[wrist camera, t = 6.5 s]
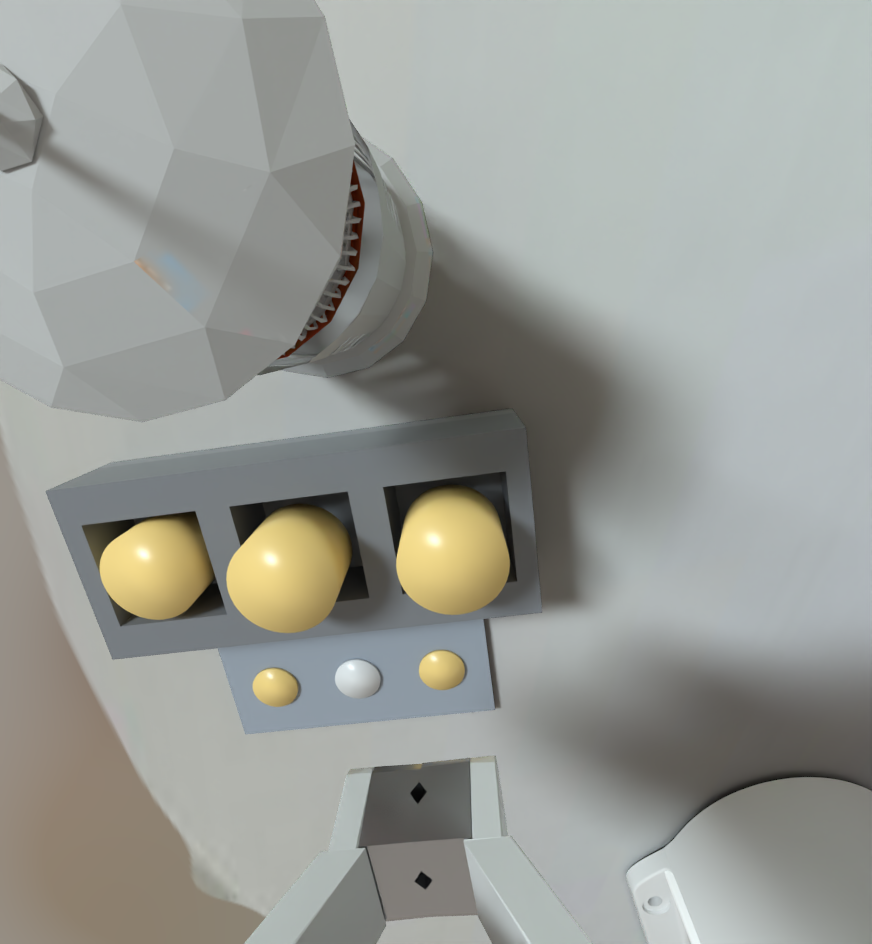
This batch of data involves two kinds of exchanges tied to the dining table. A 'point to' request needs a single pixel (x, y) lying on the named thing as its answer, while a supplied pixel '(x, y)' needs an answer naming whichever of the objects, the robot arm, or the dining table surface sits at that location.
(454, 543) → the right button
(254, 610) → the middle button
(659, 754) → the dining table surface
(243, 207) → the french press
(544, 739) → the dining table surface
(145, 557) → the left button
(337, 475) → the button board
